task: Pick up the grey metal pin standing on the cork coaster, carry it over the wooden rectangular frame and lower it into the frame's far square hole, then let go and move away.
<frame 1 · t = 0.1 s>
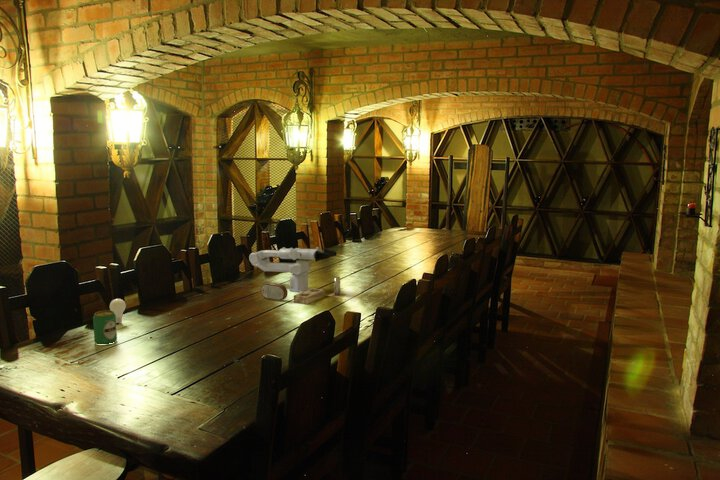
hand: (332, 254, 287), 22 cm above the table, tool horizontal, fingers open, 7 cm apart
lightbulb: (118, 323, 238), on the table
beverage can: (106, 343, 215), on the table
tin: (273, 299, 281), on the table
wooden rectangular frame: (309, 299, 282), on the table
pin: (337, 294, 289), resting on cork coaster
cork coaster: (337, 295, 289), on the table
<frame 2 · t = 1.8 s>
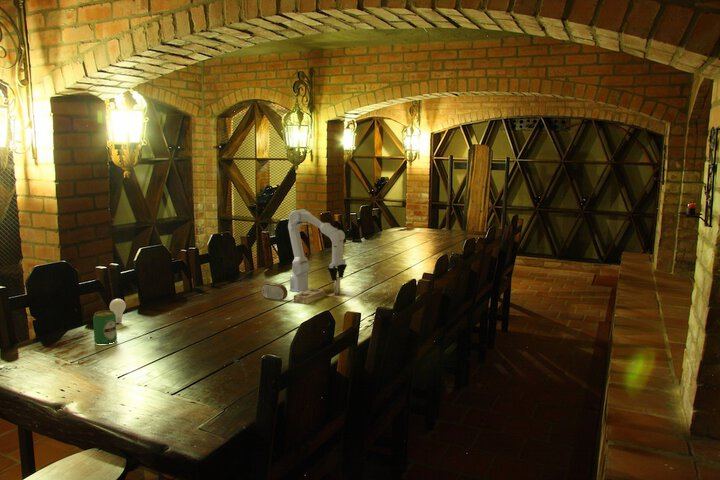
hand: (337, 279, 288), 9 cm above the table, tool pointing down, fingers open, 7 cm apart
nothing on the table moved.
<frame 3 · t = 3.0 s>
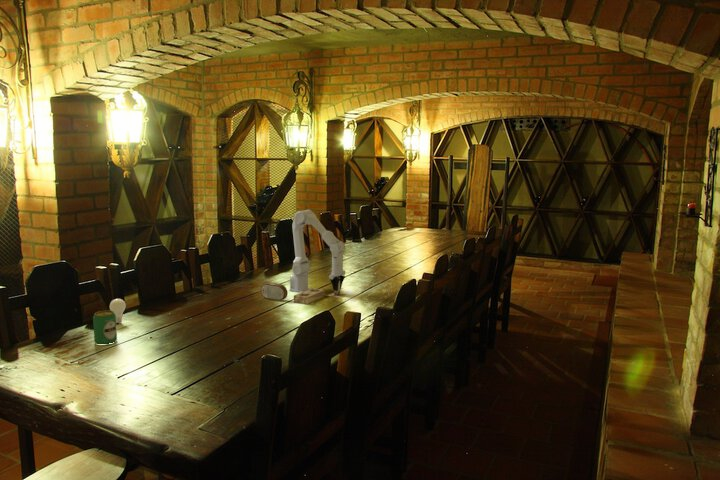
hand: (337, 290, 289), 3 cm above the table, tool pointing down, fingers closed on pin, 3 cm apart
pin: (337, 294, 289), resting on cork coaster, touching gripper
everything else where it was.
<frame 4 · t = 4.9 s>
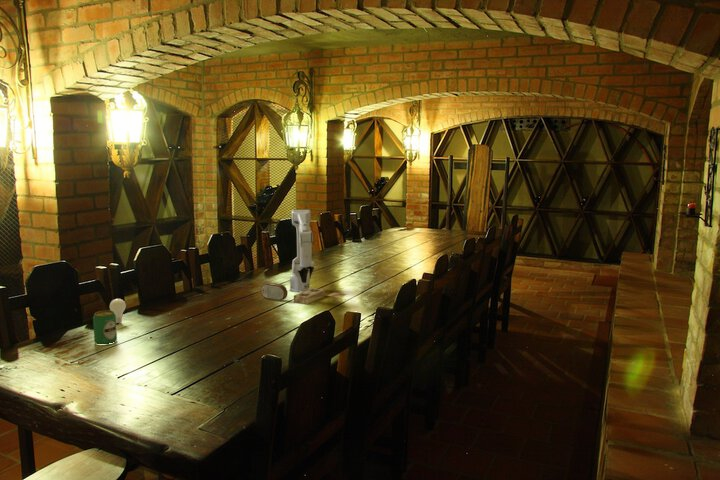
hand: (305, 281, 276), 10 cm above the table, tool pointing down, fingers closed on pin, 3 cm apart
pin: (306, 287, 276), point 7 cm above the table, touching gripper
everything else where it was.
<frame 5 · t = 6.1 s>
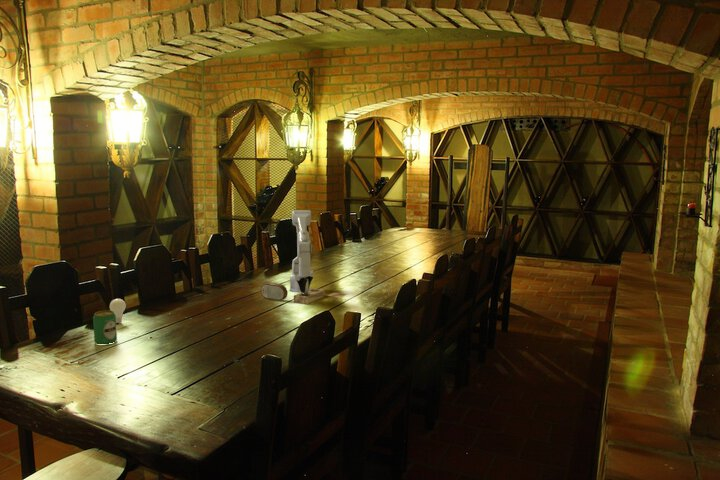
hand: (304, 291, 276), 5 cm above the table, tool pointing down, fingers closed on pin, 3 cm apart
pin: (305, 297, 277), point 2 cm above the table, touching gripper
everything else where it was.
when the fingers open (4 cm above the table, at t = 7.1 s): pin drops 2 cm, resting in wooden rectangular frame.
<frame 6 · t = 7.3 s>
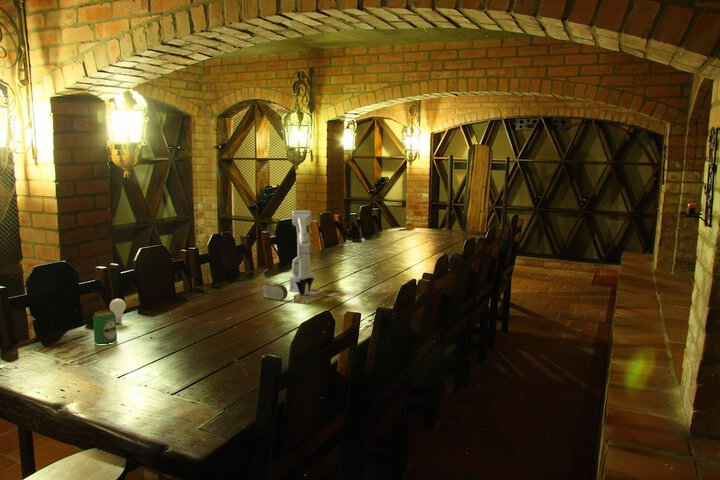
hand: (304, 293, 277), 4 cm above the table, tool pointing down, fingers open, 5 cm apart
pin: (305, 301, 277), resting in wooden rectangular frame
everything else where it was.
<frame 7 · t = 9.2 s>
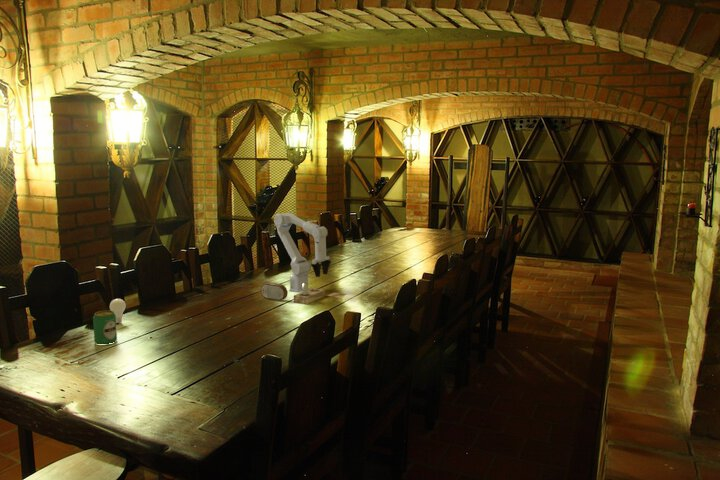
hand: (321, 275, 290), 10 cm above the table, tool pointing down, fingers open, 7 cm apart
nothing on the table moved.
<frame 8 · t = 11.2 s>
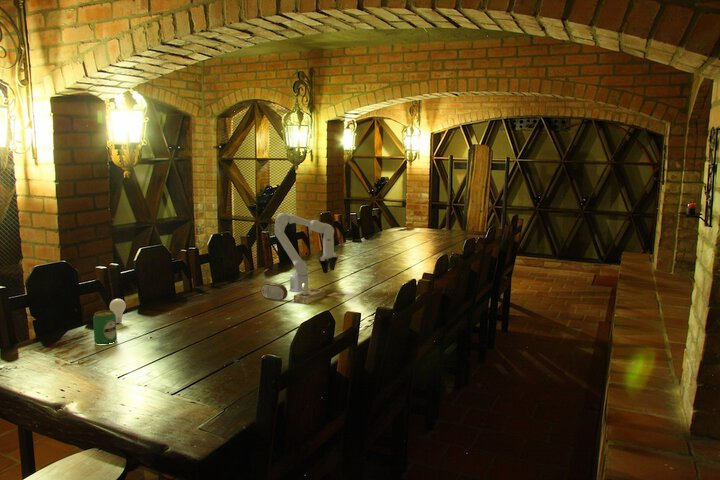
hand: (328, 271, 299), 10 cm above the table, tool pointing down, fingers open, 7 cm apart
nothing on the table moved.
at the end: pin 0.4 cm from the target spot on the wooden rectangular frame, point 0.0 cm above the wooden rectangular frame's base; pin tilted 0°; the gripper is holding nothing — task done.
